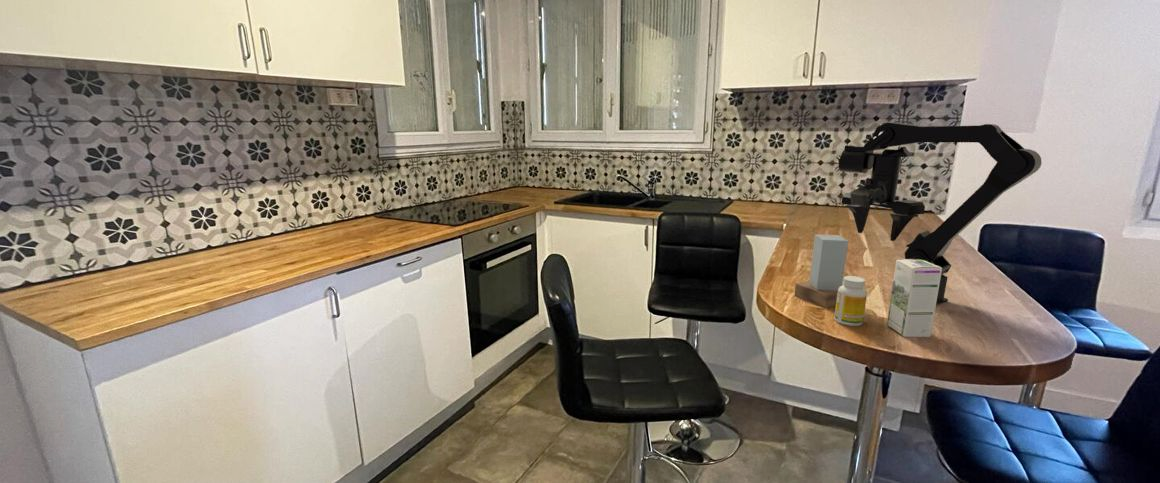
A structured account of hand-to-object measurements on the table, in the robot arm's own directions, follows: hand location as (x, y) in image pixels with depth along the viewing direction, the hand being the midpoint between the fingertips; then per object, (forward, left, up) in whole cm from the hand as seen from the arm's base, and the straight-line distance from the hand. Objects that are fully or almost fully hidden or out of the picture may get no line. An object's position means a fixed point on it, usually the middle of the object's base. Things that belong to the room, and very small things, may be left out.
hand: (875, 236), depth 124 cm
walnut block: (-3, +19, -14) cm, 23 cm away
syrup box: (-24, +18, -13) cm, 33 cm away
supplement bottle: (-16, +25, -13) cm, 32 cm away
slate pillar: (-3, +19, -10) cm, 21 cm away
